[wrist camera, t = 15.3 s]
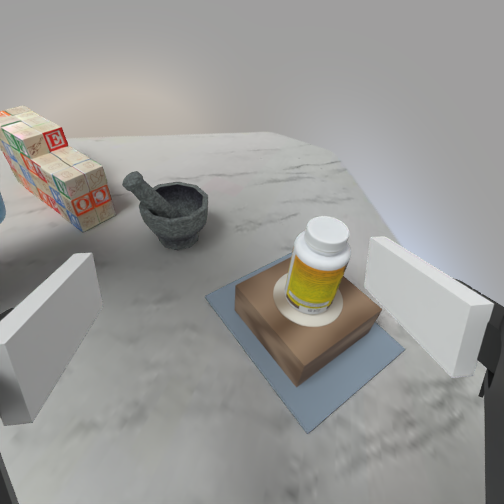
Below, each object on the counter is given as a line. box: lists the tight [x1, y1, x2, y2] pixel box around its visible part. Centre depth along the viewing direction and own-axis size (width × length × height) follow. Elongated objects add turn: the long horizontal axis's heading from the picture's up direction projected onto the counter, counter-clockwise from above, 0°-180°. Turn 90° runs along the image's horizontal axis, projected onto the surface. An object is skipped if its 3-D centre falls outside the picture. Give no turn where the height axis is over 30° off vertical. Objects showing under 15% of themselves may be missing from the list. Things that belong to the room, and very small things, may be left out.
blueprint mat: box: [205, 253, 405, 434], centre depth 41 cm, size 20×16×1 cm
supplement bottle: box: [285, 216, 351, 314], centre depth 33 cm, size 6×6×10 cm
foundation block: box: [235, 257, 382, 387], centre depth 39 cm, size 12×12×5 cm
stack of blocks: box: [0, 106, 116, 232], centre depth 52 cm, size 21×6×12 cm, turn 52°
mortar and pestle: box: [122, 171, 208, 250], centre depth 47 cm, size 11×9×12 cm
